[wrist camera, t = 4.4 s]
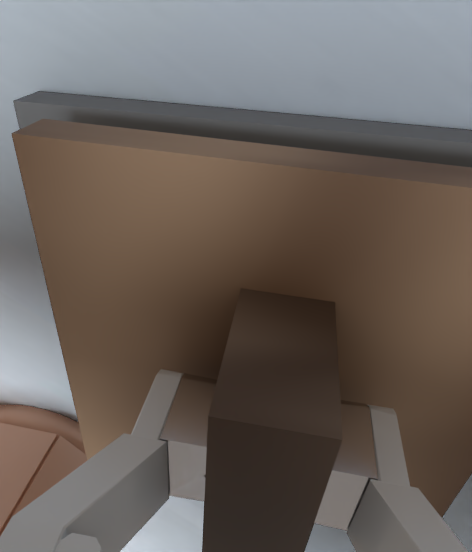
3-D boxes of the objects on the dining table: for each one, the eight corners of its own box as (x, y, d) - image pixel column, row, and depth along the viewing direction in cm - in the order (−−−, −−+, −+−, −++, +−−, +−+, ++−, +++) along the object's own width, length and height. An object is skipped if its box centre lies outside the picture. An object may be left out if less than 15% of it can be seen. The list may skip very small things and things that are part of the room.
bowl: (128, 423, 16) (70, 555, 12) (138, 524, 21) (97, 644, 17) (-61, 386, 17) (-171, 499, 13) (-13, 491, 21) (-85, 599, 17)
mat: (550, 137, 9) (576, 152, 8) (403, 455, 15) (408, 482, 14) (38, 90, 10) (13, 100, 9) (100, 407, 16) (88, 430, 15)
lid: (612, 183, 7) (867, 352, 4) (423, 499, 13) (458, 676, 9) (42, 118, 8) (-149, 208, 5) (102, 439, 14) (35, 582, 10)
